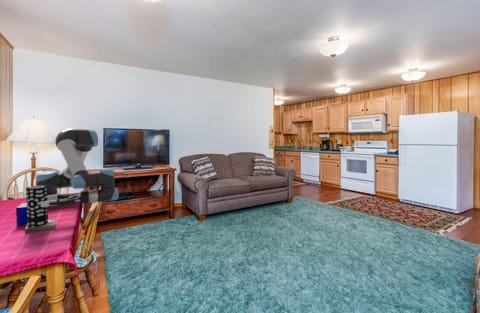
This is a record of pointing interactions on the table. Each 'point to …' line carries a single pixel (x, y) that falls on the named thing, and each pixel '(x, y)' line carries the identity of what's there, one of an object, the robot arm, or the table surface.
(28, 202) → the white-spotted black cylinder
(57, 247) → the table surface
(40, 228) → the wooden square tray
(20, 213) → the puzzle cube
